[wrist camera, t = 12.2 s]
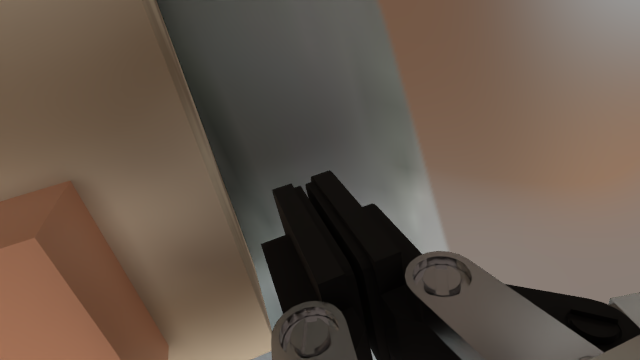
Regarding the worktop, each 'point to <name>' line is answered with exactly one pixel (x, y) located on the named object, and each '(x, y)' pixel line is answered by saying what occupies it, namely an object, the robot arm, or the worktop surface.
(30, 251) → the tile
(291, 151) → the worktop surface
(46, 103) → the bench plate
